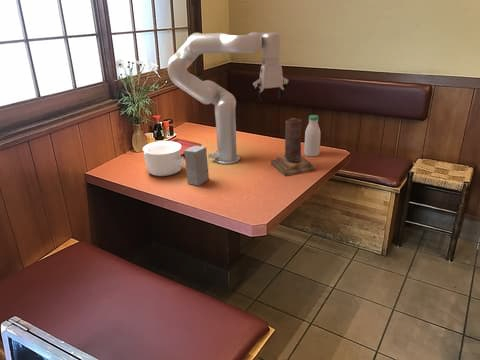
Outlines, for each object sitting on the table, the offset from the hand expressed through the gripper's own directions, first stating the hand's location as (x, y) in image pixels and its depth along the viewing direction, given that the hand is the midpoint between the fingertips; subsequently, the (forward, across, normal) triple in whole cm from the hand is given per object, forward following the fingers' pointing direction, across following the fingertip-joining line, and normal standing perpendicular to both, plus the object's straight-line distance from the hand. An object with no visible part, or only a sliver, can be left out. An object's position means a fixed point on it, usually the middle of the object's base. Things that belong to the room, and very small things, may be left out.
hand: (270, 99), depth 194 cm
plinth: (+30, +6, -13) cm, 34 cm away
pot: (+31, -52, +6) cm, 61 cm away
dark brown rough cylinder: (+27, +6, -13) cm, 30 cm away
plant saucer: (+31, -40, +30) cm, 59 cm away
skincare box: (+31, -40, -11) cm, 51 cm away
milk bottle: (+31, +22, -2) cm, 38 cm away
